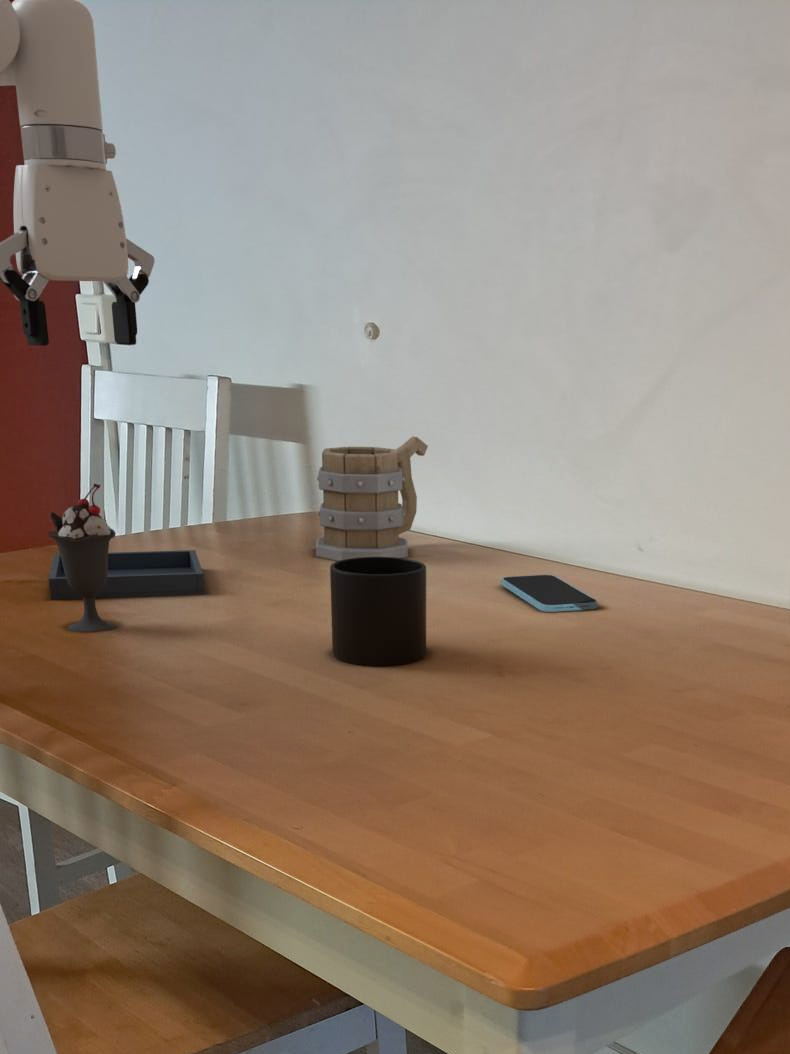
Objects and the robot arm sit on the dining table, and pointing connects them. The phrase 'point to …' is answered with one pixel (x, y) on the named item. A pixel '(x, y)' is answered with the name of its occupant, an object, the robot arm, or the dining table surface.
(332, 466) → the tankard
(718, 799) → the dining table surface
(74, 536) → the sundae
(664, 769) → the dining table surface
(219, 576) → the dining table surface
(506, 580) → the smartphone
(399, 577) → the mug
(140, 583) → the tray
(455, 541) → the dining table surface
